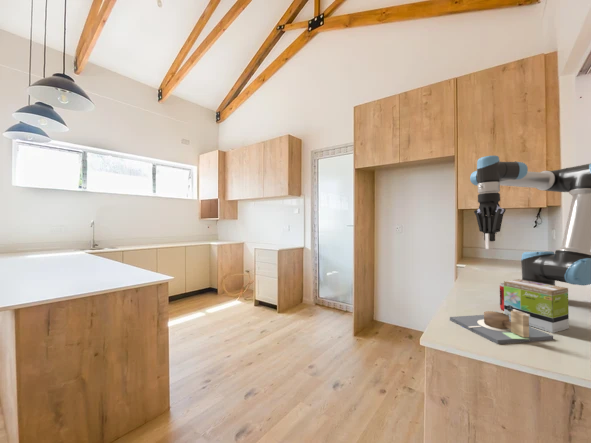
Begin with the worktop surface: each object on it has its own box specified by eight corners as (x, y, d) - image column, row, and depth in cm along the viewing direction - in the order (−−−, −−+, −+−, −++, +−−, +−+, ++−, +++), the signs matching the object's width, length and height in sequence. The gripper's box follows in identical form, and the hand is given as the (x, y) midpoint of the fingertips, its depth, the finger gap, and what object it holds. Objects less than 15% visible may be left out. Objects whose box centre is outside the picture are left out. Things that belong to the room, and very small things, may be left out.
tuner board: (495, 317, 100) (495, 313, 100) (556, 340, 80) (556, 336, 80) (448, 320, 98) (448, 316, 98) (498, 345, 77) (498, 341, 77)
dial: (479, 321, 92) (478, 300, 92) (496, 320, 93) (496, 299, 93) (519, 339, 77) (518, 315, 78) (539, 338, 78) (539, 314, 78)
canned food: (529, 314, 103) (529, 287, 103) (507, 313, 104) (506, 286, 104) (517, 308, 110) (516, 283, 110) (496, 307, 112) (495, 282, 112)
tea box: (503, 318, 99) (502, 280, 99) (519, 315, 102) (518, 278, 103) (553, 334, 85) (552, 289, 85) (570, 329, 88) (569, 286, 88)
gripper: (468, 195, 114) (469, 247, 113) (494, 191, 101) (496, 250, 100) (483, 195, 115) (484, 247, 114) (511, 191, 102) (512, 250, 101)
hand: (489, 248), depth 107 cm, fingers closed
